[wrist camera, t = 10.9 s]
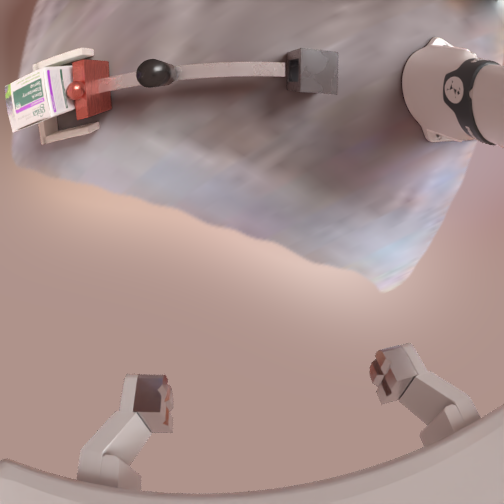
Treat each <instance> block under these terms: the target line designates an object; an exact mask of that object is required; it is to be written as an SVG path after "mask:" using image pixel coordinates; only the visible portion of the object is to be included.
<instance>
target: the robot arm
mask: <svg viewBox="0 0 504 504" xmlns="http://www.w3.org/2000/svg"><path fill="white" fill-rule="evenodd" d="M402 89H403V95H404V99H405V102H406V105H407V107H408V109H409V111H410V113H411V114H412V116H413V117H414V118H415V119H416V120H417V122H418V123H419V124H420V125H421V127H422V130H423V133H424V135H425V137H426V139H427V140H428V141H430V142H443V141H458V142H462V140H473V139H476V140H478V141H480V142H482V143H485V144H489V145H498V146H500V147H502V148H504V66H501V65H500V64H498V63H496V62H494V61H490V60H487V59H482V58H477V55H476V54H475V53H473V52H469V50H468V49H466V48H460V47H453V46H452V45H450V44H449V43H447V42H446V41H444V40H443V39H441V38H438V37H434V38H432V39H431V40H430V42H429V43H428V45H427V46H426V47H424V48H422V49H420V50H418V51H416V52H415V53H414V54H412V55H411V57H410V58H409V59H408V61H407V63H406V65H405V68H404V71H403V77H402ZM436 134H437V136H436ZM375 357H376V359H375V360H374V361H373V362H372V363H371V366H370V378H371V380H372V383H373V384H374V385H376V386H377V387H378V388H377V391H376V392H377V395H378V397H379V399H380V402H381V404H385V403H389V402H393V401H397V400H399V402H400V403H402V404H403V405H404V406H405V407H406V408H408V409H409V410H410V411H411V412H412V413H413V414H415V415H416V416H417V417H418V418H419V419H421V420H422V421H423V422H424V423H425V424H426V425H428V426H427V427H426V428H425V429H424V430H423V431H421V433H420V438H421V440H422V442H423V445H424V447H423V448H421V449H418V450H416V451H413V452H411V453H408V454H406V455H403V456H401V457H398V458H395V459H393V460H390V461H387V462H384V463H382V464H378V465H376V466H373V467H369V468H366V469H363V470H359V471H356V472H352V473H349V474H345V475H341V476H337V477H333V478H329V479H325V480H320V481H315V482H311V483H305V484H300V485H294V486H289V487H283V488H275V489H267V490H258V491H248V492H235V493H213V494H183V493H163V492H149V491H141V476H140V475H139V473H137V472H136V471H134V470H133V469H132V468H131V467H129V466H130V465H131V463H132V462H133V460H134V459H135V457H136V456H137V454H138V453H139V452H140V450H141V449H142V447H143V446H144V444H145V443H146V441H147V440H148V438H149V437H150V435H151V433H153V432H154V433H172V429H173V428H172V427H173V417H172V415H171V413H170V411H171V410H172V409H173V393H172V389H171V386H170V385H168V384H167V383H168V379H167V377H166V375H140V374H127V375H126V376H125V378H124V384H123V389H122V395H121V401H120V408H119V411H115V412H114V413H113V414H112V416H111V417H110V418H109V419H108V420H107V421H106V422H105V423H104V424H103V425H102V427H101V428H100V429H99V430H98V431H97V432H96V433H95V434H94V436H93V437H92V438H91V439H90V440H89V441H88V442H87V443H86V444H85V446H84V447H83V448H82V449H81V453H80V459H79V466H78V473H77V480H75V479H71V478H67V477H63V476H60V475H56V474H52V473H49V472H45V471H42V470H39V469H36V468H33V467H30V466H27V465H24V464H21V463H19V462H16V461H14V460H11V459H3V460H1V461H0V504H504V404H503V405H501V406H500V407H498V408H497V409H495V410H493V411H492V412H490V413H489V414H487V415H485V416H484V417H482V418H480V416H479V414H478V412H477V410H476V408H475V406H474V404H473V402H472V400H471V398H470V396H469V395H468V394H466V393H464V392H463V391H461V390H460V389H458V388H456V387H455V386H453V385H452V384H450V383H448V382H447V381H445V380H444V379H442V378H441V377H439V376H437V375H436V374H434V373H433V372H431V371H430V372H428V371H427V369H426V367H425V366H424V364H423V362H422V360H421V358H420V357H419V355H418V353H417V352H416V350H415V348H414V346H413V345H412V344H411V343H406V344H403V345H398V346H394V347H390V348H386V349H382V350H379V351H377V353H376V355H375Z"/></svg>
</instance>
